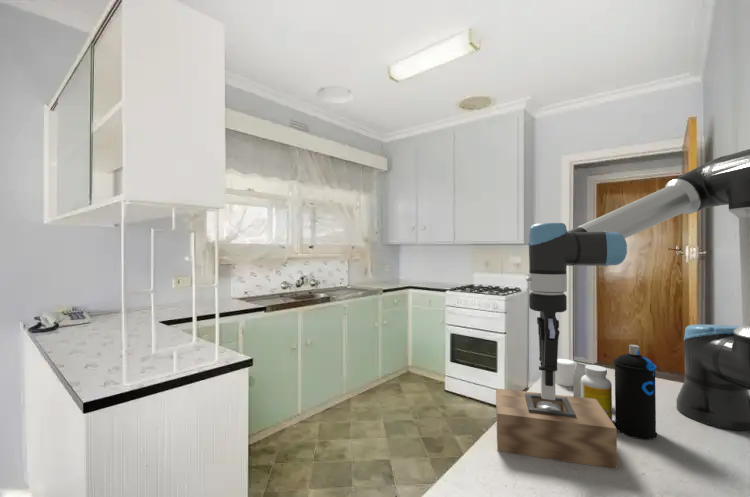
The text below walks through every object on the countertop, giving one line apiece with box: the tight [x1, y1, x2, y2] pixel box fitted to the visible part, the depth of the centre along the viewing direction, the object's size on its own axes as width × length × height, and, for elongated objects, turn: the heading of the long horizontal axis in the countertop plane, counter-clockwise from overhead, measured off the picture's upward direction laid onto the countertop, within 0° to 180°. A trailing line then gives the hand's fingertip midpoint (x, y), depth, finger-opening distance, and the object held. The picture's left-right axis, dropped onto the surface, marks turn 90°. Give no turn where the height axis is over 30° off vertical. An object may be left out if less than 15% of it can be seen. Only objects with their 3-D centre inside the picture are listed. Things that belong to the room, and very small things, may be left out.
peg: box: [536, 401, 561, 411], centre depth 79 cm, size 5×5×8 cm
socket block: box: [495, 388, 618, 470], centre depth 79 cm, size 22×14×9 cm, turn 72°
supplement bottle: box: [581, 364, 613, 422], centre depth 90 cm, size 7×7×13 cm
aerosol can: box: [613, 344, 658, 441], centre depth 84 cm, size 8×8×20 cm
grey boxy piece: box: [572, 361, 587, 397], centre depth 100 cm, size 4×7×10 cm, turn 30°
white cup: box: [555, 357, 577, 387], centre depth 113 cm, size 7×7×7 cm
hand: (548, 398), depth 79 cm, fingers closed
